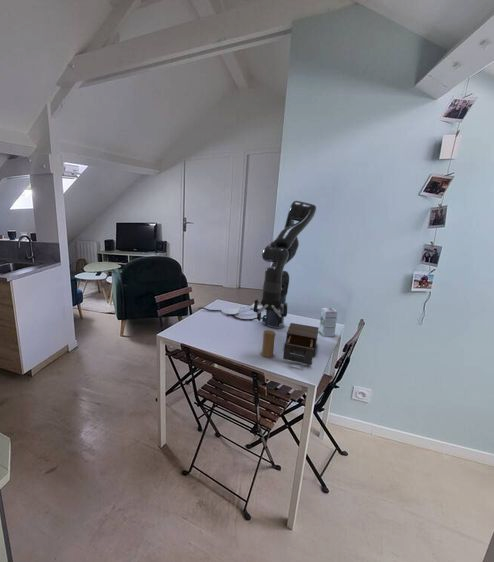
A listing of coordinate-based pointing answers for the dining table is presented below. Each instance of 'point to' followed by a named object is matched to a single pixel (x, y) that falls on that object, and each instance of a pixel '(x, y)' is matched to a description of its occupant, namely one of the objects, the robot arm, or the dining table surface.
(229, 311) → the spoon
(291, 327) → the cabinet
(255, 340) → the dining table surface
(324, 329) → the syrup box
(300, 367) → the dining table surface
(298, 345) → the drawer
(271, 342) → the tan wooden cylinder
